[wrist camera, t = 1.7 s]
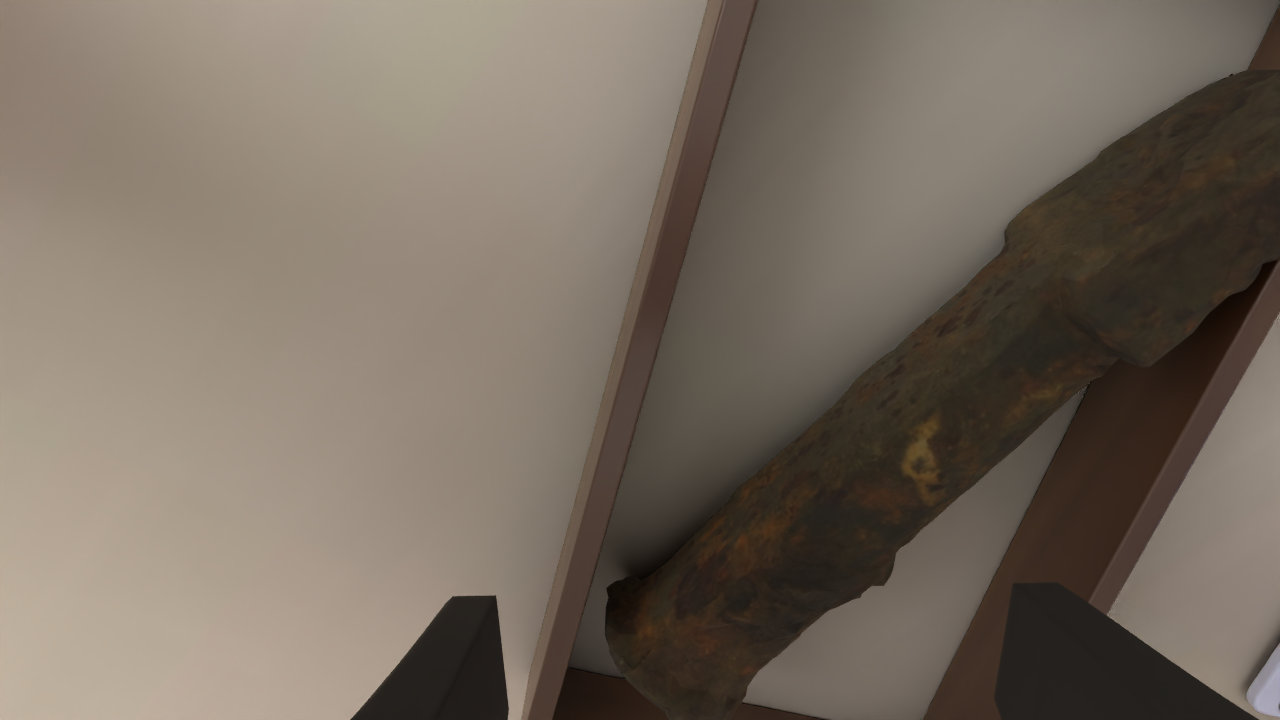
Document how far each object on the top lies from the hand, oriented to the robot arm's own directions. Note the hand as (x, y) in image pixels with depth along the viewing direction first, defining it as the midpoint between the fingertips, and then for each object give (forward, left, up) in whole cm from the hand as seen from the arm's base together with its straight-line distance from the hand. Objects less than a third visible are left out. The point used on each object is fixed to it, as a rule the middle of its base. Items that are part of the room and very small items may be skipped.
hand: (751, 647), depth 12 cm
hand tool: (-4, -2, -10) cm, 11 cm away
